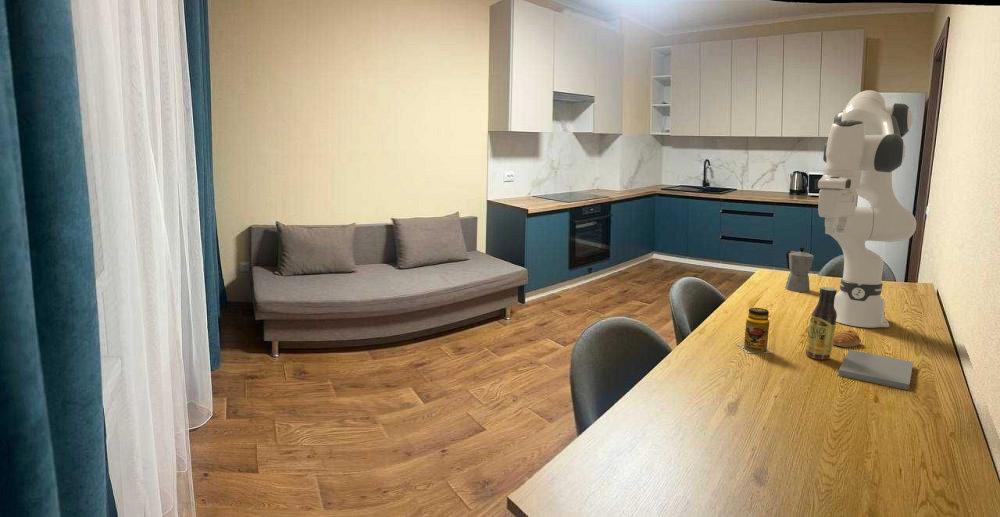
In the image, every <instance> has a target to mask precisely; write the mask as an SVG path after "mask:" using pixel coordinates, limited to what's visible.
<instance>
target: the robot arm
mask: <svg viewBox="0 0 1000 517" xmlns="http://www.w3.org/2000/svg"><path fill="white" fill-rule="evenodd" d="M912 113H913V112H912V111H911V109H910V106H908V105H907V104H906V103H899V102H898V103H897V102H896V103H894V104H886V102H885V99H884V97H883V95H882V94H881V93H880V92H878V91H876V90H871V89H868V90H863V91H860V92H858V93H857V94H855V95H854V96H853V97H851V99H850V100H849V101H848V102H847V104H846V106H845V107H844V108H843V110H841V111H839V112H838V113H837V114H835V116H834V118H833V120H832V124H831V128H830V130H829V134H828V138H827V141H826V142H825V144H824V150H823V156H822V157H823V158H822V160H823V162H824V163H825V165H824V168H823V172H822V173H823V175H822V176H821V178H820V179H819V180H818V182H817V187H818V189H819V192H818V206H817V207H818V208H817V211H818V216H819V217H820V218H824V227H825V229H824V230H825V231H824V233H825V235H829V236H831V237H832V239H834V241H836V242H837V244H838V245H839V246H840V248H841V251H842V253H843V272H842V278H841V279H840V283H839V285H840V286H839V291H837V293H836V295H835V300H834V308H835V310H836V313H837V318H836V323H839V324H843V325H846V326H852V327H858V328H869V329H870V328H871V329H872V328H873V329H874V328H890V323H889V322H888V320H887V318H886V317H885V315H886V314H885V313H886V312H885V303H886V302H885V301H884V300H883V298H882V296H881V295H882V291H883V283H882V277H883V271H884V264H885V263H884V259H883V258H882V257H881V256H880V255H879V254H878V253H876V252H875V251H872V250H870V249H868V248H867V247H866V241H867V242H871V241H872V242H874V241H875V242H883V243H884V242H885V243H893V242H903V241H908V240H909V239H911V237H912V236H913V235H914V234H915V231H916V229H917V220H916V217H915V216H914V214H913V213H912V212H911V210H910V211H909V210H908V209H907V208H905V207H904V206H903V205H902V204H901V203H900V202H899V200H898V199H897V197H896V194H895V193H894V192H895V191H894V189H893V188H894V187H893V172H894V171H895V170H898V169H899V167H901V166H902V164H903V162H904V160H905V158H906V146H905V143H904V139H903V137H904V136H905V135H907V133H909V131H910V128H911V127H912V124H913V114H912ZM857 196H858V197H860V198H862V199H865V200H866V201H868V203H869V204H870V207H868V206H856V205H857Z"/></svg>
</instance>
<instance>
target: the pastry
mask: <svg viewBox="0 0 1000 517" xmlns="http://www.w3.org/2000/svg"><path fill="white" fill-rule="evenodd" d="M861 342H862V340H861V338H860V336H859V335H858V333H857V332H856V331H854V330H851V329H848V330H845V329H844V330H843V331H838V332H835V333H834V338H833V344H832V346H833V345H834V346H839V347H842V348H853V347H856V346H859V345H860V344H861Z"/></svg>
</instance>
